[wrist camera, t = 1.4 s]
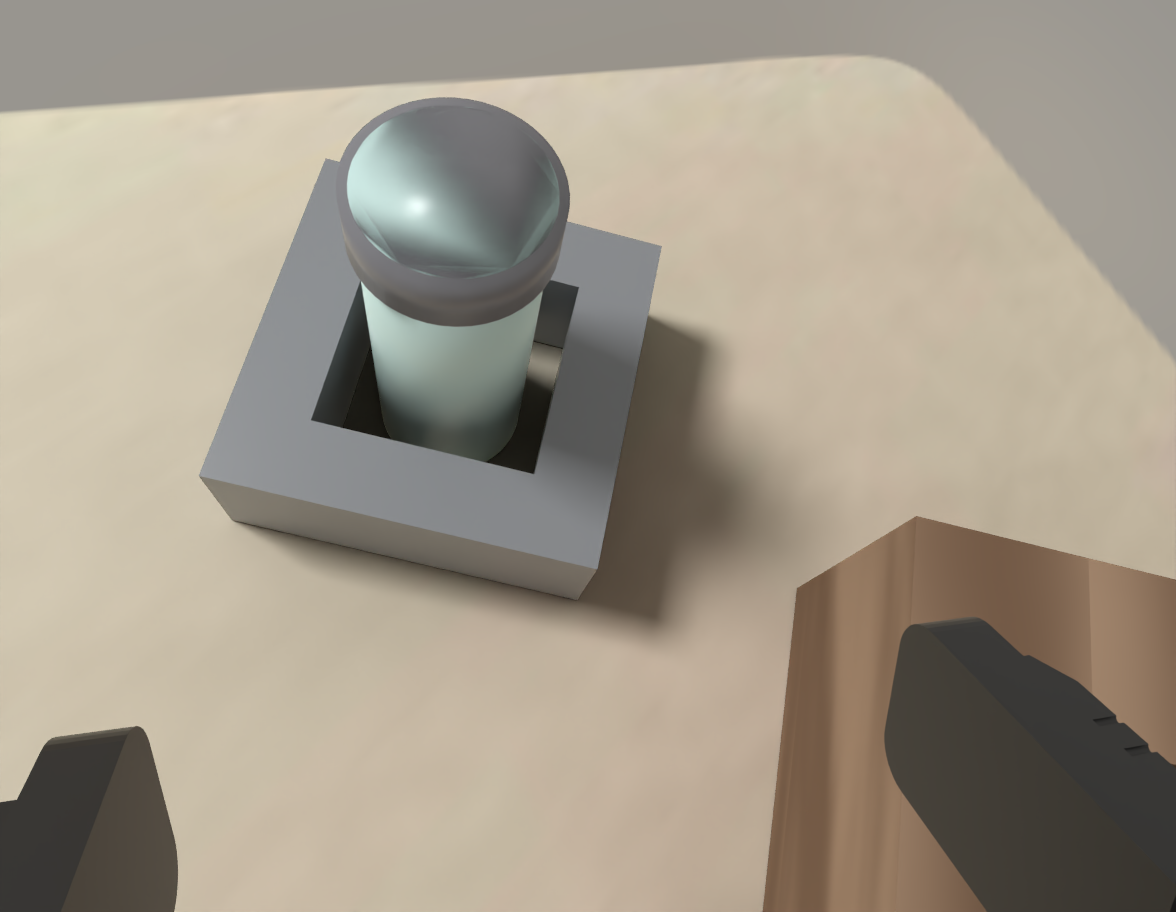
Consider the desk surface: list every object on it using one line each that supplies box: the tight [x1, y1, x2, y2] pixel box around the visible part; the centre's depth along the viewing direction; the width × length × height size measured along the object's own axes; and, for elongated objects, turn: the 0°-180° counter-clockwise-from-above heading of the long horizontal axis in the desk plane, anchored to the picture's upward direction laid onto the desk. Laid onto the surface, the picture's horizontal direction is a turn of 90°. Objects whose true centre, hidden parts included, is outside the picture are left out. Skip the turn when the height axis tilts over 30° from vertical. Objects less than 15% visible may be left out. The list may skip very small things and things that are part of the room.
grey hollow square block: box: [199, 159, 662, 600], centre depth 24 cm, size 10×10×4 cm
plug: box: [336, 98, 570, 462], centre depth 21 cm, size 4×4×10 cm
